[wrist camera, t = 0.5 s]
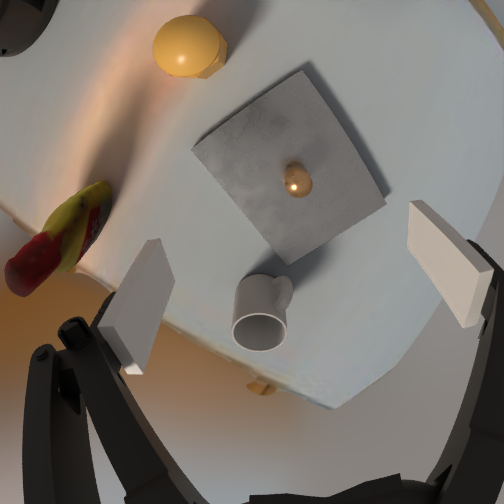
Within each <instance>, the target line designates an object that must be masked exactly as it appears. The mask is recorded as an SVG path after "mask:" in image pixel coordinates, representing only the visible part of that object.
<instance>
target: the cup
mask: <svg viewBox="0 0 504 504" xmlns="http://www.w3.org/2000/svg"><path fill="white" fill-rule="evenodd" d="M292 295H293V284H292V282H291V280H290V279H289V277H287V276H283V275H281V276H278V277H277V278H273V277H271V276H268V275H265V274H255V275H251V276H249V277H246V278H245V279H243V280H242V281H241V282H240V283H239V285H238V286H237V289H236V293H235V302H234V311H233V320H232V329H231V335H232V338H233V340H234V341H235V343H236V344H237V345H238V346H240V347H241V348H243V349H246V350H248V351H252V352H266V351H270V350H273V349H276V348H277V347H279V346H280V345H281V344H282V343H283V342H284V341H285V339H286V337H287V322H286V311H285V309H286V308H287V307H288V305H289V304H290V302H291V299H292Z"/></svg>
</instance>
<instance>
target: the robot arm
mask: <svg viewBox="0 0 504 504" xmlns="http://www.w3.org/2000/svg"><path fill="white" fill-rule="evenodd" d="M56 3H57V0H0V57H10V56H15V55H18V54H20V53H21V52H23V51H25V50H26V49H27V48H29V47H30V46H31V45H32V44H33V43H34V42H35V41H36V40H37V39H38V37H39V36H40V35H41V34H42V32H43V31H44V29H45V28H46V26H47V24H48V23H49V21H50V19H51V17H52V14H53V12H54V9H55V6H56ZM407 248H408V249H409V251H410V252H411V253H412V255H413V256H414V257H415V259H416V260H417V261H418V263H419V264H420V265H421V267H422V268H423V269H424V271H425V272H426V274H427V275H428V276H429V278H430V279H431V281H432V282H433V284H434V285H435V286H436V288H437V289H438V291H439V292H440V294H441V295H442V297H443V298H444V300H445V301H446V303H447V304H448V306H449V307H450V309H451V310H452V312H453V314H454V315H455V317H456V318H457V320H458V321H459V323H460V325H461V326H462V328H466V327H470V326H473V325H476V324H477V322H478V320H479V317H480V314H482V315H483V316H484V318H485V321H484V324H483V326H482V329H481V331H480V334H479V336H478V339H480V341H479V346H478V349H477V354H476V357H475V362H474V365H473V369H472V373H471V376H470V379H469V383H468V386H467V389H466V392H465V395H464V398H463V401H462V404H461V408H460V410H459V413H458V416H457V418H456V421H455V424H454V426H453V429H452V431H451V434H450V436H449V439H448V441H447V443H446V445H445V448H444V450H443V452H442V455H441V457H440V459H439V461H438V463H437V465H436V466H435V468H434V469H433V471H432V472H431V474H430V475H429V477H428V479H427V480H426V482H425V483H424V482H420V481H415V480H401V477H400V473H398V474H395V475H391V476H387V477H384V478H379V479H375V480H371V481H366V482H363V483H361V484H359V485H357V486H354V487H352V488H350V489H347V490H345V491H343V492H340V493H338V494H335V495H333V496H330V497H312V496H304V495H295V494H288V493H285V494H270V495H250V497H249V502H246V503H243V504H495V502H496V500H497V498H498V495H499V492H500V490H501V487H502V484H503V481H504V271H503V270H502V268H501V267H500V266H499V265H498V264H497V263H496V262H495V261H494V260H493V259H492V258H491V257H490V256H489V255H488V254H487V253H486V252H484V250H483V249H482V248H481V247H480V246H479V245H478V244H477V243H475V242H473V241H471V240H469V239H468V240H465V239H464V238H463V237H462V236H461V235H460V234H459V233H458V232H457V231H456V230H455V229H454V228H453V227H452V226H451V225H450V224H448V223H447V222H446V221H445V220H444V219H443V218H442V217H441V216H440V215H439V214H437V213H436V212H435V211H434V210H433V209H432V208H431V207H430V206H428V205H427V204H426V203H425V202H424V201H423V200H416V201H410V203H409V225H408V240H407ZM174 283H175V279H174V276H173V273H172V271H171V268H170V265H169V262H168V260H167V257H166V254H165V251H164V248H163V245H162V243H161V240H160V238H158V239H153V240H147V242H146V243H145V245H144V246H143V248H142V250H141V251H140V253H139V254H138V256H137V258H136V259H135V261H134V263H133V264H132V266H131V268H130V269H129V271H128V273H127V274H126V276H125V278H124V280H123V281H122V283H121V285H120V286H119V288H118V290H117V292H112V293H111V294H110V295H109V296H108V297H107V298H106V299H105V301H104V302H103V304H102V306H101V308H100V309H99V311H98V314H97V315H96V317H95V318H94V320H93V322H92V324H91V325H90V327H89V326H88V325H87V323H86V321H85V320H84V319H83V318H82V317H73V318H71V319H69V320H67V321H66V322H64V323H63V324H62V326H61V327H60V328H59V330H58V337H59V338H60V339H61V341H62V343H63V344H64V345H65V347H66V348H67V349H64V350H61V351H56V350H55V348H54V347H53V346H52V345H51V344H44V345H42V346H40V347H38V348H37V349H36V350H35V351H34V353H33V354H32V357H31V360H30V366H29V373H28V381H27V389H26V397H25V408H24V421H23V444H22V465H23V466H22V468H23V490H24V491H23V492H24V504H101V502H100V498H99V493H98V489H97V484H96V479H95V473H94V468H93V462H92V455H91V448H90V441H89V433H88V424H87V414H86V407H87V409H88V412H89V415H90V417H91V419H92V422H93V424H94V427H95V429H96V432H97V434H98V436H99V439H100V441H101V443H102V445H103V447H104V450H105V452H106V454H107V456H108V458H109V460H110V462H111V464H112V466H113V468H114V470H115V472H116V474H117V476H118V478H119V480H120V482H121V484H122V485H123V487H124V489H125V491H126V496H125V497H124V501H125V504H209V503H208V502H207V501H206V500H205V499H204V498H203V497H202V496H201V494H200V493H199V492H198V491H197V490H196V488H195V487H194V486H193V484H192V483H191V482H190V481H189V479H188V478H187V477H186V475H185V474H184V473H183V472H182V470H181V469H180V468H179V466H178V465H177V463H176V462H175V461H174V459H173V458H172V456H171V455H170V454H169V452H168V451H167V450H166V448H165V446H164V445H163V443H162V442H161V441H160V439H159V437H158V436H157V435H156V433H155V431H154V430H153V428H152V427H151V425H150V424H149V422H148V420H147V419H146V417H145V416H144V414H143V412H142V411H141V409H140V407H139V406H138V404H137V402H136V401H135V399H134V397H133V395H132V394H131V392H130V390H129V388H128V387H127V385H126V383H125V381H124V379H123V378H122V376H121V375H120V373H119V371H120V368H121V365H122V366H123V368H124V369H125V371H126V372H127V374H144V370H145V367H146V364H147V361H148V358H149V355H150V352H151V349H152V346H153V343H154V340H155V337H156V334H157V331H158V328H159V325H160V322H161V320H162V317H163V314H164V311H165V308H166V305H167V303H168V300H169V297H170V294H171V291H172V289H173V286H174Z"/></svg>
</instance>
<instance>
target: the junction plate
mask: <svg viewBox="0 0 504 504" xmlns="http://www.w3.org/2000/svg"><path fill="white" fill-rule="evenodd" d="M191 151H192V152H193V153H194V154H195V155H196V157H197V158H198V159H199V160H200V161H201V162H202V164H203V165H204V166H205V167H206V168H207V170H208V171H209V172H210V173H211V174H212V176H213V177H214V178H215V179H216V180H217V182H218V183H219V184H220V185H221V186H222V188H223V189H224V190H225V191H226V192H227V194H228V195H229V196H230V197H231V198H232V200H233V201H234V202H235V203H236V204H237V206H238V207H239V208H240V209H241V210H242V212H243V213H244V214H245V215H246V217H247V218H248V219H249V220H250V221H251V223H252V224H253V225H254V226H255V228H256V229H257V230H258V231H259V232H260V234H261V235H262V236H263V237H264V238H265V240H266V241H267V242H268V243H269V245H270V246H271V247H272V248H273V250H274V251H275V252H276V253H277V254H278V256H279V257H280V258H281V259H282V261H283V262H284V263H285V264H286V266H288V265H290V264H291V263H293V262H295V261H296V260H298V259H300V258H301V257H303V256H305V255H306V254H308V253H310V252H311V251H313V250H314V249H316V248H318V247H319V246H321V245H323V244H324V243H326V242H327V241H329V240H331V239H332V238H334V237H335V236H337V235H339V234H340V233H342V232H343V231H345V230H347V229H348V228H350V227H351V226H353V225H355V224H356V223H358V222H359V221H361V220H363V219H364V218H366V217H367V216H369V215H370V214H372V213H374V212H375V211H377V210H378V209H380V208H381V207H383V206H385V205H386V204H387V203H386V202H385V200H384V198H383V196H382V194H381V192H380V190H379V188H378V187H377V185H376V183H375V181H374V179H373V178H372V176H371V174H370V172H369V170H368V169H367V167H366V165H365V164H364V162H363V160H362V158H361V157H360V155H359V153H358V152H357V150H356V148H355V147H354V145H353V144H352V142H351V140H350V139H349V137H348V136H347V134H346V132H345V131H344V129H343V128H342V126H341V125H340V123H339V122H338V120H337V118H336V117H335V115H334V114H333V112H332V111H331V110H330V108H329V107H328V105H327V104H326V102H325V101H324V99H323V98H322V96H321V95H320V94H319V92H318V91H317V89H316V88H315V87H314V85H313V84H312V83H311V81H310V80H309V78H308V77H307V76H306V74H305V73H304V72H303V70H300V71H299V72H297V73H295V74H294V75H292V76H291V77H289V78H288V79H286V80H285V81H283V82H282V83H280V84H278V85H277V86H275V87H274V88H272V89H271V90H270V91H268V92H267V93H265V94H264V95H262V96H261V97H259V98H258V99H256V100H255V101H254V102H252V103H251V104H249V105H248V106H247V107H245V108H244V109H242V110H241V111H240V112H238V113H237V114H236V115H234V116H233V117H232V118H230V119H229V120H228V121H226V122H225V123H224V124H222V125H221V126H220V127H218V128H217V129H216V130H214V131H213V132H212V133H211V134H209V135H208V136H207V137H206V138H204V139H203V140H202V141H200V142H199V143H198V144H197V145H196V146H194V147H193V148H192V149H191Z"/></svg>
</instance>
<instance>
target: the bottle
mask: <svg viewBox="0 0 504 504" xmlns="http://www.w3.org/2000/svg"><path fill="white" fill-rule="evenodd" d="M111 204H112V191H111V189H110V187H109V185H108V184H107V183H106V182H104V181H98V182H96V183H95V184H93V185H90V186H88V187H85V188H84V189H83V190H82V191H80V192H78V193H76V194H75V195H74V196H72V197H70V198H69V199H68V200H67V201H66V202H64V203H63V204H61V205H60V206H59V207H58V208H57V209H56V210H55V211H54V212H53V213H52V214H51V215H50V216H49V218H48V220H47V221H46V223H45V225H44V227H43V229H42V232H40V233H39V234H38V235H36V236H34V237H33V239H32V240H31V241H30V242H29V243H27V244H26V245H24V246H23V247H22V248H21V250H20V251H19V252H18V253H17V254H16V256H15V257H13V258H11V259H9V261H8V262H7V264H6V266H5V279H6V283H7V286H8V287H9V289H10V290H11V291H12V292H13V293H14V294H16V295H18V296H21V297H26V296H28V295H30V294H31V293H32V292H33V291H34V290H35V289H36V288H37V287H38V286H39V285H40V284H41V283H42V282H44V281H45V280H46V279H47V278H48V277H49V276H50V275H51V274H52V272H56V273H58V272H64V271H67V270H69V269H71V268H72V267H74V266H75V265H76V264H77V263H78V262H79V261H80V259H81V258H82V257H83V255H84V254H85V253H86V252H87V250H88V249H89V248H90V246H91V245H92V244H93V243H94V242H95V241H96V239H97V238H98V236H99V234H100V233H101V231H102V229H103V226H104V224H105V223H106V221H107V219H108V216H109V213H110V210H111Z"/></svg>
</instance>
